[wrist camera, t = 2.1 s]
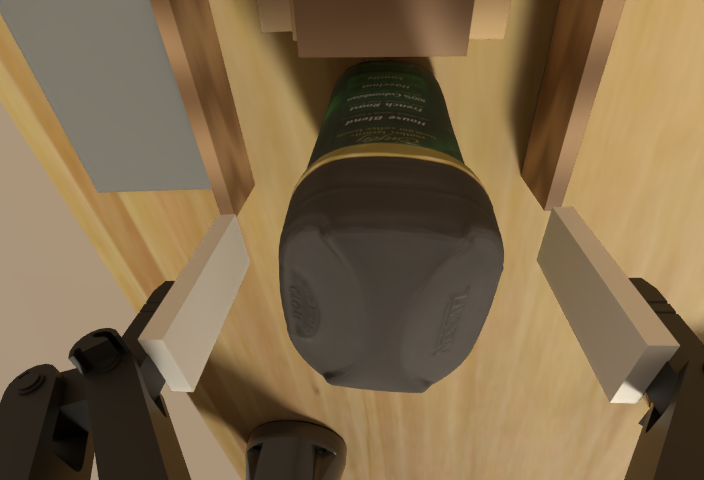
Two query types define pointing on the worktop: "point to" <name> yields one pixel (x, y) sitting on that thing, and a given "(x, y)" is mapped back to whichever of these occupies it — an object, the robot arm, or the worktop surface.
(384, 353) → the coffee jar
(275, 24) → the offcut bottom
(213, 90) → the wooden open enclosure
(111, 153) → the mat
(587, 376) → the worktop surface
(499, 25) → the offcut middle
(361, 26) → the offcut top
